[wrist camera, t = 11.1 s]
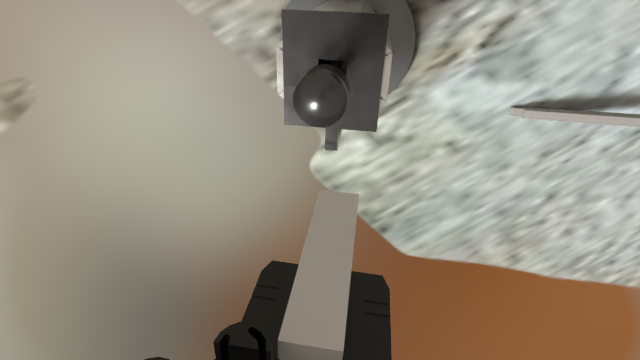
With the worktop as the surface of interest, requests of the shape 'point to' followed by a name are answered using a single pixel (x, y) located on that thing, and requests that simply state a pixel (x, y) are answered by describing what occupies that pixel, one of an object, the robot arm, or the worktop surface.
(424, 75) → the worktop surface
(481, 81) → the worktop surface
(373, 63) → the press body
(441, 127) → the worktop surface
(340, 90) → the plunger
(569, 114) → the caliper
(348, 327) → the robot arm
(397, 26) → the trivet
